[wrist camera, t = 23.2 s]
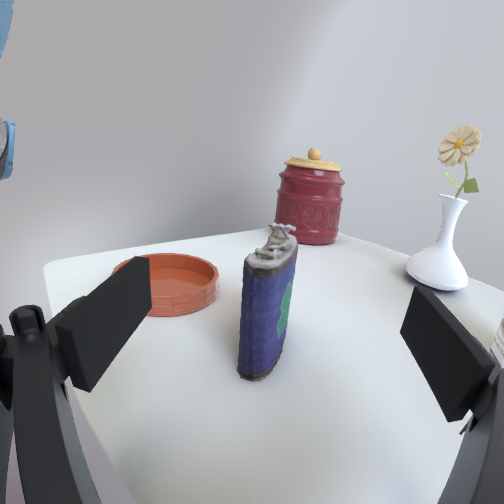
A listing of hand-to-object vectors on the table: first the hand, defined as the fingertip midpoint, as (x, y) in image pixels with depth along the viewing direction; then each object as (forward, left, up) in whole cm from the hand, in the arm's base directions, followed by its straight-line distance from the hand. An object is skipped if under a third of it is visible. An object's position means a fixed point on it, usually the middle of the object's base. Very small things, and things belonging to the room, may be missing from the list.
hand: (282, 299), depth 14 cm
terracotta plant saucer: (-12, +17, -9) cm, 22 cm away
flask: (0, +8, -9) cm, 12 cm away
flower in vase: (+26, +27, -9) cm, 38 cm away
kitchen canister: (+6, +46, -9) cm, 48 cm away
